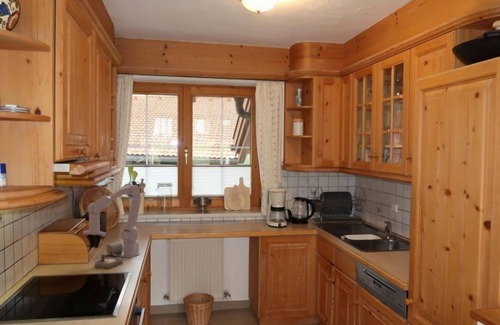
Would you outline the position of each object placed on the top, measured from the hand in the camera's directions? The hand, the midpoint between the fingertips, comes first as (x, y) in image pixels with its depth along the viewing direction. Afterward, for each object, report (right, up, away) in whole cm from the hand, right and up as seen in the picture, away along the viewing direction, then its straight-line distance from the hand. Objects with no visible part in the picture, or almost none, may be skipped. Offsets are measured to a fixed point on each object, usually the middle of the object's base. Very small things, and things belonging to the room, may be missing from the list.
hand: (94, 247), depth 217 cm
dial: (+9, -8, -2) cm, 12 cm away
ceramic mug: (+6, -9, +19) cm, 22 cm away
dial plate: (+9, -10, -2) cm, 13 cm away
